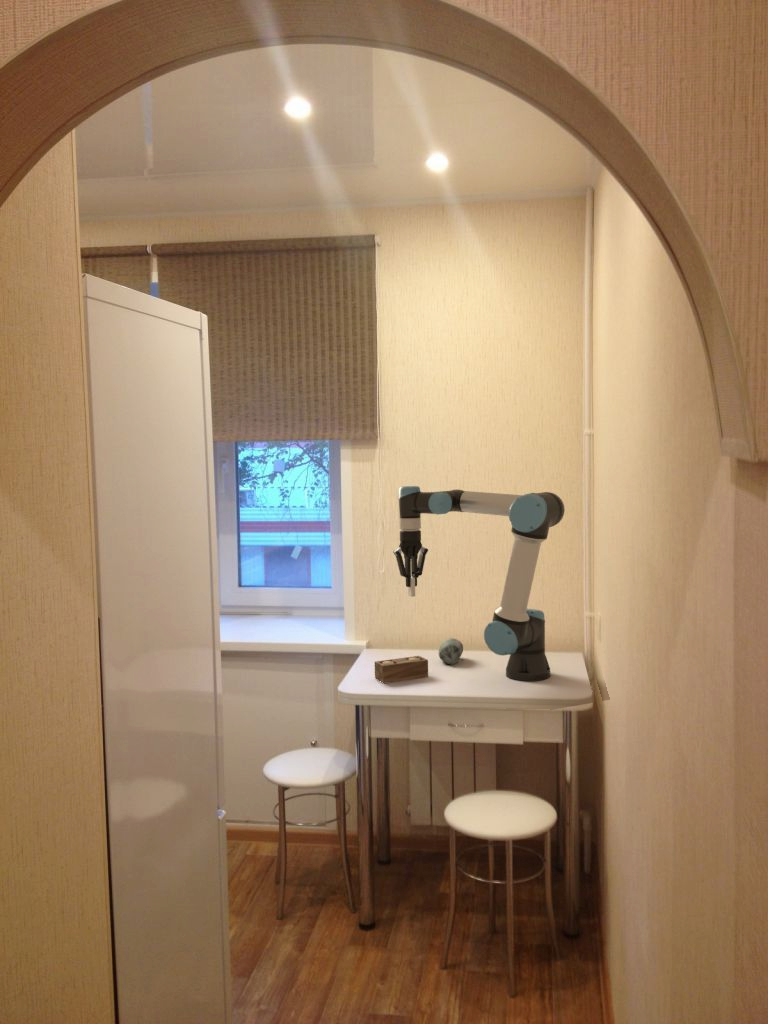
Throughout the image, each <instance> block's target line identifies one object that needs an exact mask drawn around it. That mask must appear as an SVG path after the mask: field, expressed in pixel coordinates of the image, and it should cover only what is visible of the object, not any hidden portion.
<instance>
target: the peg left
mask: <svg viewBox="0 0 768 1024" xmlns="http://www.w3.org/2000/svg"><path fill="white" fill-rule="evenodd" d="M382 664H384V665H388V664H394V662H393V661H385V662H382Z"/></svg>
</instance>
